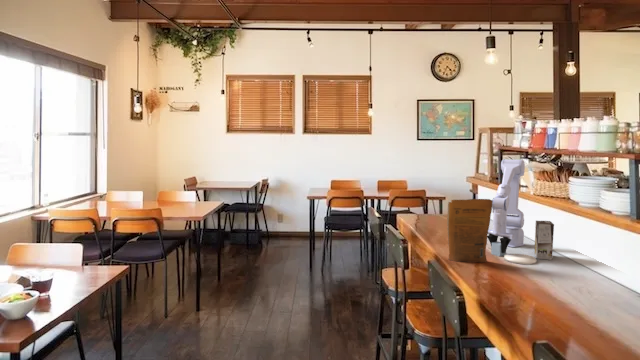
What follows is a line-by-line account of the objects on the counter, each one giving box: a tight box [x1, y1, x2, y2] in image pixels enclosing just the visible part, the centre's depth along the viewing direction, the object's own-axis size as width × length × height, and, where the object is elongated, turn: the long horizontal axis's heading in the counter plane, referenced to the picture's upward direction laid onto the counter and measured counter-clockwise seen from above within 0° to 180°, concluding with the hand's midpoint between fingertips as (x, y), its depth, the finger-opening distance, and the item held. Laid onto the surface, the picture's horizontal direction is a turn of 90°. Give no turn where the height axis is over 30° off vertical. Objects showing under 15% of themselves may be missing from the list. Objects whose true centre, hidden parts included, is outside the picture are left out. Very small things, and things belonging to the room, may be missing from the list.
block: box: [490, 241, 507, 257], centre depth 196 cm, size 4×4×6 cm
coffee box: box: [533, 220, 555, 261], centre depth 192 cm, size 9×6×16 cm
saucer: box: [503, 253, 537, 265], centre depth 187 cm, size 13×13×1 cm
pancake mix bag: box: [446, 198, 493, 263], centre depth 185 cm, size 7×19×28 cm, turn 81°
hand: (498, 251), depth 196 cm, fingers closed on block, 4 cm apart
